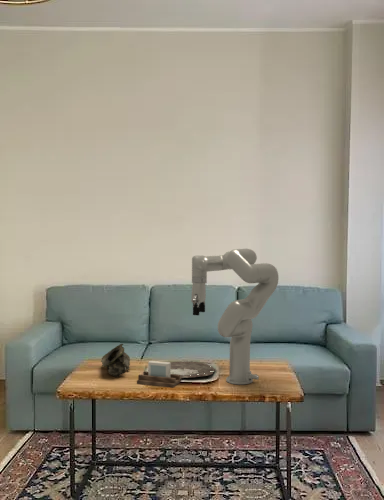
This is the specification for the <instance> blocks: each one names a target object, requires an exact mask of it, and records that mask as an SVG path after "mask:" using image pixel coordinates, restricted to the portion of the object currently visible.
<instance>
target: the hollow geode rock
mask: <svg viewBox="0 0 384 500" xmlns="http://www.w3.org/2000/svg"><path fill="white" fill-rule="evenodd" d="M123 345H124V343H120V344H119V345H116V346H115V347H114V348H112V349H111V350H109V351H108V352H107V353H105V354H104V355H103V356H102V357H101V359H100V360H101V361H100V363H101V367H105V368H106V367H107V373H108V375H110V376H112V377H115V378H119V377H120V376H122V375H123V374H125V372H126V371H127V370H129V369H130V366H131V359H130V356H129V355H128V354H127V352H125V348H124V347H123Z"/></svg>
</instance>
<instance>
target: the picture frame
mask: <svg viewBox="0 0 384 500" xmlns="http://www.w3.org/2000/svg"><path fill="white" fill-rule="evenodd" d="M147 363H148V364H147V365H148V366H147V368H148V371H147V372H148V375H149V376H159V377H169V378H171V374H172V373H171V372H172V371H171V370H172V369H171V361H170V362H169V361H157V360H149V361H148V362H147Z"/></svg>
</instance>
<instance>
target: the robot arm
mask: <svg viewBox="0 0 384 500" xmlns="http://www.w3.org/2000/svg"><path fill="white" fill-rule="evenodd" d="M257 259H258V256H257V253H256V251H254V250H252V249H251V248H236V249H232V250H230V251H227V252H225V253H224V254H223V255H220V254H219V255H210V256H209V255H207V256H205V255H193V256H192V258H191V283H192V284H191V285H192V286H191V301H190V302H191V303H192V316H200V313H205V312H206V296H207V295H206V294H207V293H206V284H207V282H208V280H207V278H208V277H207V276H208V274H207V273H208V272H218V271H220V272H221V271H226V270H227V271H228V270H232V271H233V272H234V273H235V274H236V275H238V277H239V278H240V279H241V280H243V281H244V282H245V283H246V284H256V285H255V286H253V288H252V289H251V290H250V292H249V293H248V295H246V297H245V298H242V299H236V300H233V301H231V302H230V303H229V304H228V306H227V307H226V309H224V312H223V313H222V314H221V316H220V319H219V320H218V323H217V332H218V334H219V335H220V336H221V337H223V338H230V341H229V376H226V378H225V380H226V382H227V383H228V384H232V385H239V386H240V385H243V386H244V385H248V384H252V383H253V382H254V380H259V375H258V374H253V373H252V370H251V367H250V366H251V337H252V331H253V320H252V319H255V318H257V317H258V316H259V314H260V313H261V311H262V310H263V308H264V307H265V305H266V303H267V302H268V301H269V299H270V298H271V296H272V295H273V294H274V293H275V291H276V289H277V287H278V284H279V271H278V269H277V267H275V265H274V264H270V263H267V262H266V263H264V262H263V263H256V261H257Z"/></svg>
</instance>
